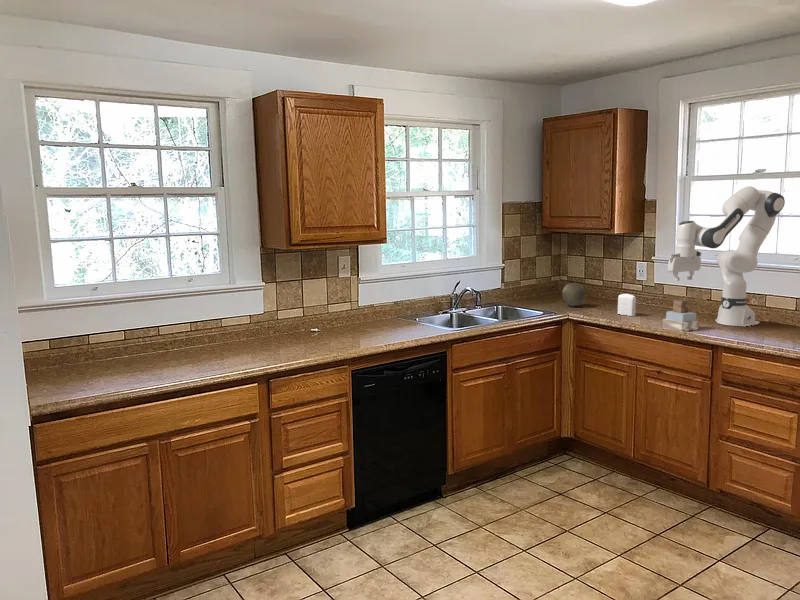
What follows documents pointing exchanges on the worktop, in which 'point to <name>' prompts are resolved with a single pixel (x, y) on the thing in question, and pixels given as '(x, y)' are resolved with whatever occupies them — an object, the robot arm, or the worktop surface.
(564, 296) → the grey ball
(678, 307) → the walnut block
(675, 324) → the ash base slab
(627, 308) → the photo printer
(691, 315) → the slate top block
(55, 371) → the worktop surface
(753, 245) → the robot arm
